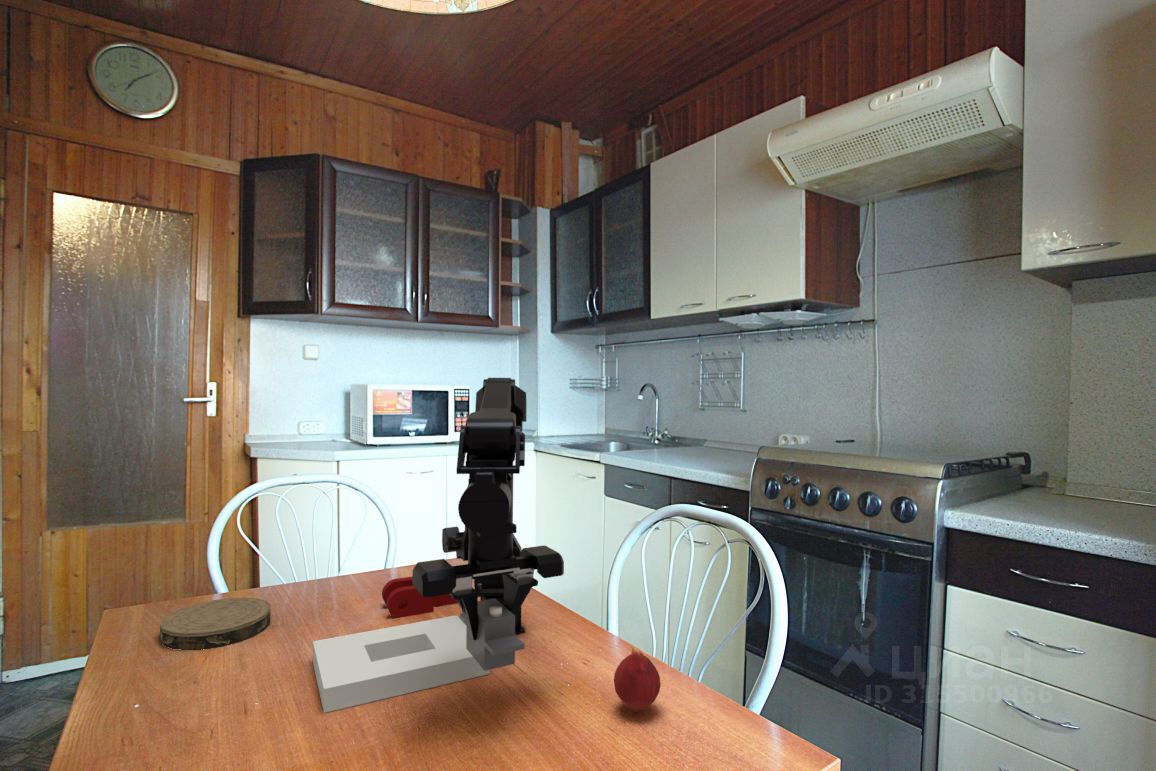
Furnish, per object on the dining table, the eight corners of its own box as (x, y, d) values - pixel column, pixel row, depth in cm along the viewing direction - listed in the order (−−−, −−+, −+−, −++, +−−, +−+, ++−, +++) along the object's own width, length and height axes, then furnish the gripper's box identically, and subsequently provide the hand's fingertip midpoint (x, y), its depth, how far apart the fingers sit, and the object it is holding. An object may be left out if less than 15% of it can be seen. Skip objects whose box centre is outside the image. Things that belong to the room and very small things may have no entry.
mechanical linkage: (388, 620, 106) (388, 592, 106) (381, 607, 112) (381, 580, 112) (476, 606, 113) (476, 579, 113) (465, 594, 120) (465, 569, 120)
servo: (459, 640, 82) (459, 590, 82) (487, 634, 84) (487, 585, 84) (493, 681, 71) (493, 623, 71) (524, 673, 73) (524, 617, 73)
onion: (663, 703, 78) (664, 642, 78) (654, 727, 73) (655, 661, 73) (620, 696, 80) (620, 635, 80) (608, 718, 75) (608, 653, 75)
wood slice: (260, 645, 96) (260, 626, 96) (143, 658, 91) (143, 638, 91) (278, 610, 111) (278, 593, 111) (179, 619, 106) (179, 602, 106)
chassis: (456, 633, 100) (456, 615, 100) (490, 673, 86) (490, 652, 86) (312, 661, 90) (312, 641, 90) (323, 712, 76) (324, 689, 76)
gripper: (531, 498, 89) (530, 603, 89) (403, 510, 80) (402, 627, 80) (566, 512, 79) (565, 630, 79) (424, 527, 70) (423, 661, 70)
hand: (490, 635), depth 77 cm, fingers closed on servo, 4 cm apart
